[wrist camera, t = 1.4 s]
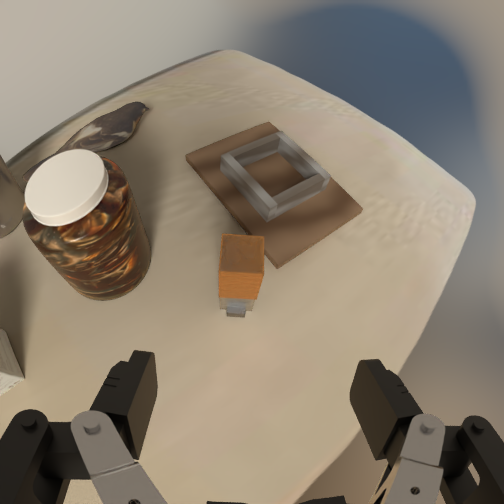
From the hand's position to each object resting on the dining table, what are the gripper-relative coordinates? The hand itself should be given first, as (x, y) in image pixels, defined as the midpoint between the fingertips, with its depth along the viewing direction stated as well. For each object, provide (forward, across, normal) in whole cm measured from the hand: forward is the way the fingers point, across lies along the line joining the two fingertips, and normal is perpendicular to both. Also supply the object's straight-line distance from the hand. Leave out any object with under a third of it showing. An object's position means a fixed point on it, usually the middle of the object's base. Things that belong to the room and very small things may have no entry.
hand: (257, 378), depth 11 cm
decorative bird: (+40, +25, -9) cm, 48 cm away
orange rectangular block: (+24, 0, +7) cm, 25 cm away
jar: (+27, +17, +5) cm, 32 cm away
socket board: (+36, -4, -5) cm, 37 cm away
